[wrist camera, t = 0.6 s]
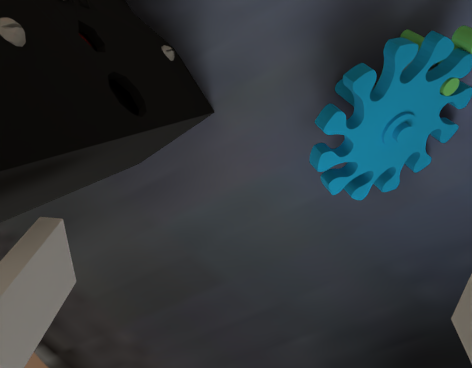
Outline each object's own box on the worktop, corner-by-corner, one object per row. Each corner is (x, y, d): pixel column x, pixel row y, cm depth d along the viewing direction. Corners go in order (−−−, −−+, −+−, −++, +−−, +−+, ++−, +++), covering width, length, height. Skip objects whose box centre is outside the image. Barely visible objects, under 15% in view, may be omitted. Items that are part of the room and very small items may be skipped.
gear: (369, 227, 26) (288, 160, 19) (320, 173, 30) (239, 102, 23) (514, 101, 24) (480, -28, 17) (439, 61, 28) (387, -56, 21)
